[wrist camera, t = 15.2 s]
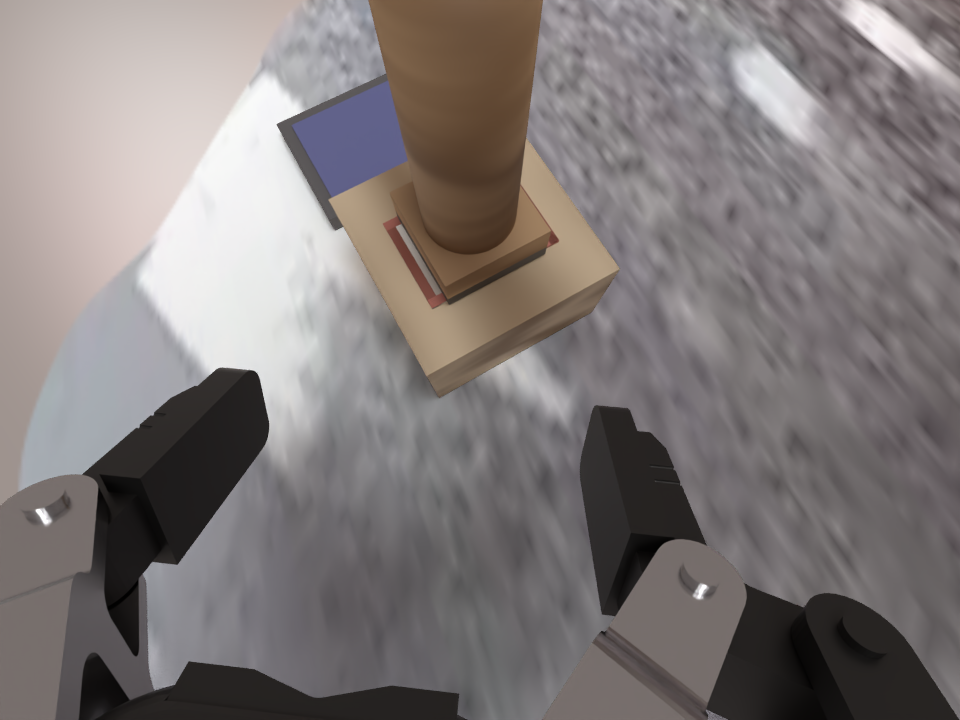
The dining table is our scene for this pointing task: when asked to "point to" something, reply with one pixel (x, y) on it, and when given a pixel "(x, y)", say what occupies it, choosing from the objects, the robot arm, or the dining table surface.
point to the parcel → (493, 308)
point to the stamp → (464, 133)
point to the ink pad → (346, 141)
